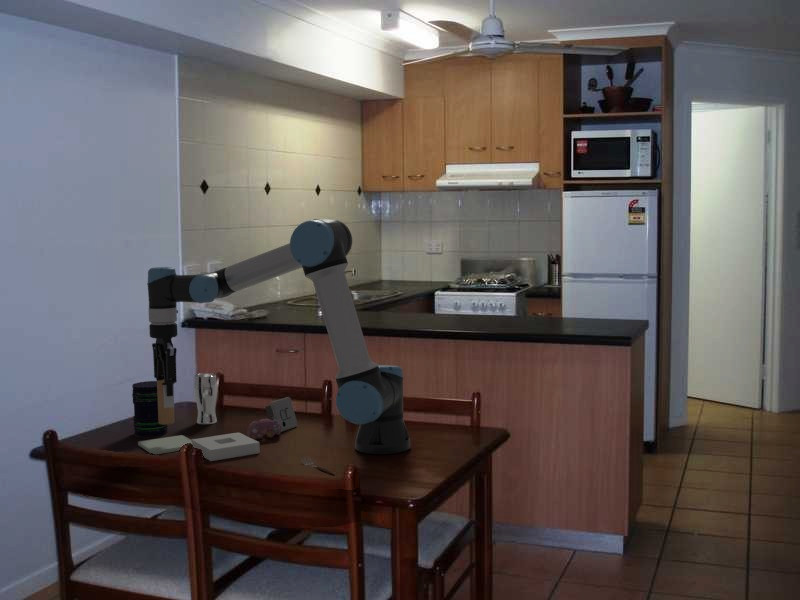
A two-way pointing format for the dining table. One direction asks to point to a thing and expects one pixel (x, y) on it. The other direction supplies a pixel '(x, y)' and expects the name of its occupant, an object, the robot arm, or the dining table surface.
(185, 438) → the mat
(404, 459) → the dining table surface
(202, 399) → the beer glass
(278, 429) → the pink animal figurine
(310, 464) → the fork
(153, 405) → the storage jar
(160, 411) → the plug
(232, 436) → the white square flat box
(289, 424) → the electrical switch
